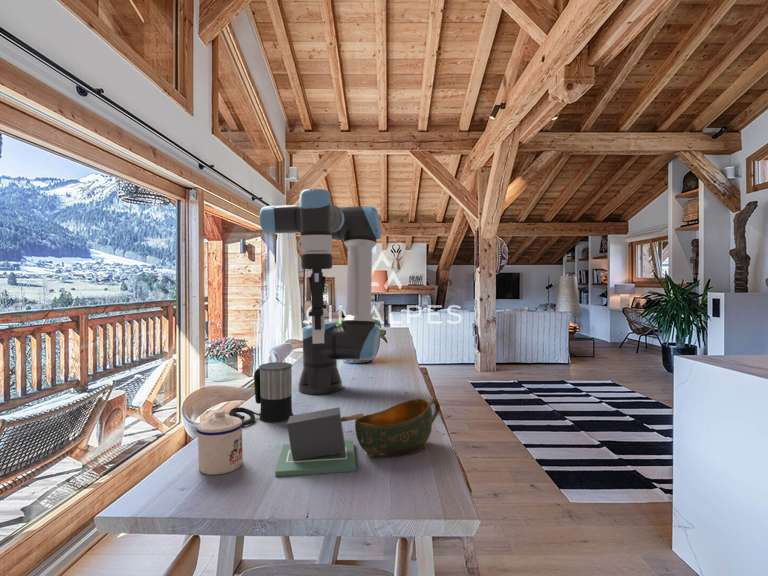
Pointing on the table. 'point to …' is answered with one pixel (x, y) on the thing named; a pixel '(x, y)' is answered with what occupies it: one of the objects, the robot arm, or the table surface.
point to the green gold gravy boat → (397, 429)
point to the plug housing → (317, 433)
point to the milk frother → (271, 393)
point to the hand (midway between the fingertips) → (319, 338)
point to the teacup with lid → (220, 444)
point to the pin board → (316, 462)
